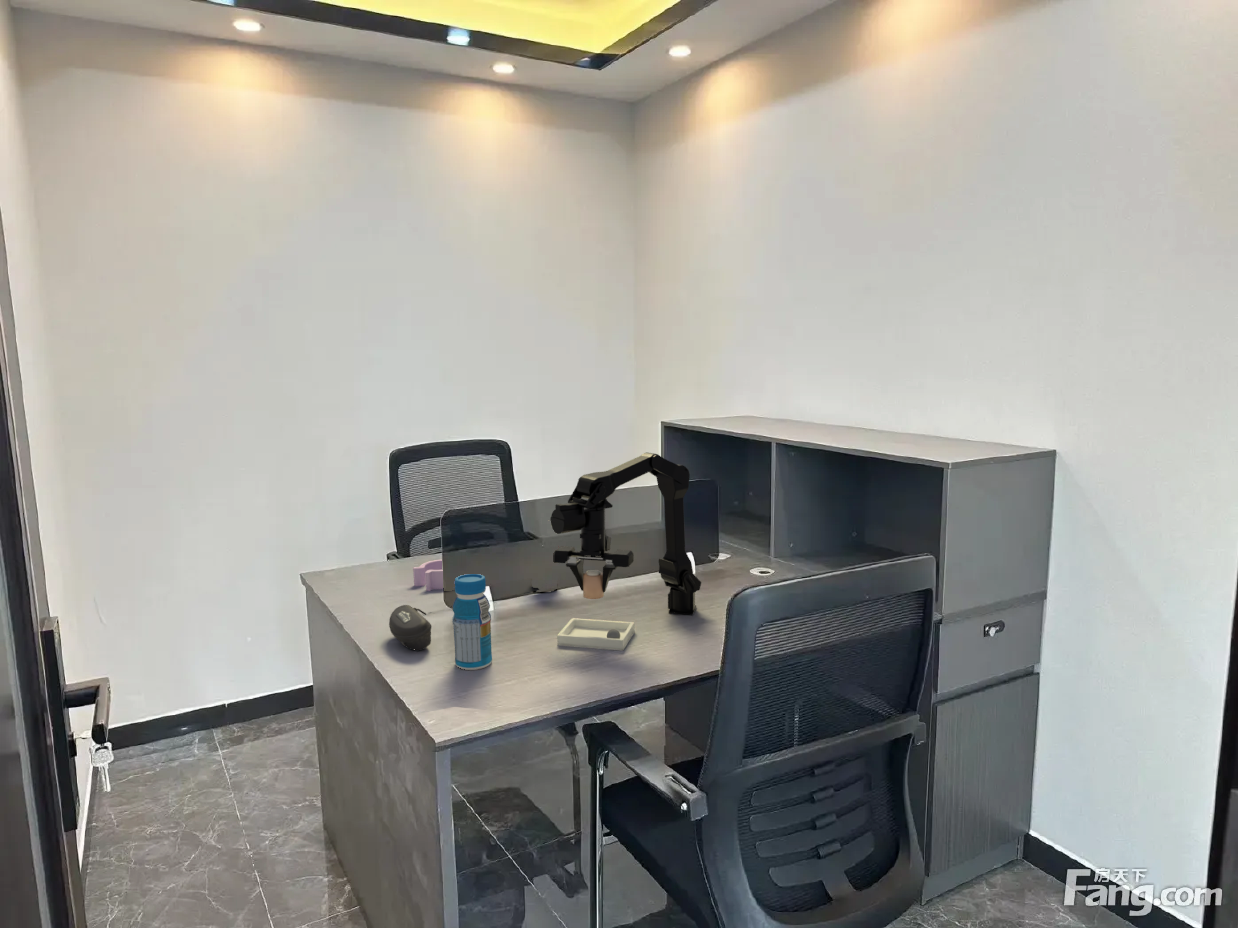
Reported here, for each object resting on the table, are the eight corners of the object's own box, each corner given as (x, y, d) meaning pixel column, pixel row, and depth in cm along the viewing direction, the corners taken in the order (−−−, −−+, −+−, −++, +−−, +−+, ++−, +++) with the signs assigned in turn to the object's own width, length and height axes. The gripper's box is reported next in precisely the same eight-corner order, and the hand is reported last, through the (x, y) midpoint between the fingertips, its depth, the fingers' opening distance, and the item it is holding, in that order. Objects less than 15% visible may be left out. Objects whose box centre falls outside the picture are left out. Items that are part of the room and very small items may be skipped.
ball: (621, 640, 186) (621, 627, 186) (618, 645, 183) (618, 632, 183) (608, 639, 187) (608, 626, 187) (605, 644, 184) (605, 631, 184)
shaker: (606, 593, 191) (606, 569, 190) (600, 599, 186) (600, 575, 186) (586, 592, 192) (586, 568, 192) (580, 598, 188) (580, 573, 187)
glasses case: (382, 635, 194) (380, 605, 193) (424, 627, 199) (423, 597, 198) (403, 659, 179) (402, 627, 177) (448, 650, 184) (446, 618, 183)
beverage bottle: (459, 674, 170) (454, 585, 167) (451, 660, 178) (446, 574, 175) (497, 667, 174) (493, 580, 170) (487, 653, 181) (484, 570, 178)
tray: (634, 632, 193) (634, 622, 193) (623, 650, 182) (622, 640, 181) (572, 627, 197) (572, 617, 197) (557, 645, 186) (557, 635, 185)
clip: (466, 574, 245) (465, 552, 244) (490, 582, 236) (489, 560, 235) (409, 589, 231) (408, 566, 230) (432, 598, 222) (431, 574, 221)
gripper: (638, 522, 193) (638, 584, 195) (566, 518, 197) (567, 579, 199) (628, 532, 182) (628, 597, 184) (551, 528, 186) (552, 592, 189)
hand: (593, 590), depth 189 cm, fingers closed on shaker, 5 cm apart
